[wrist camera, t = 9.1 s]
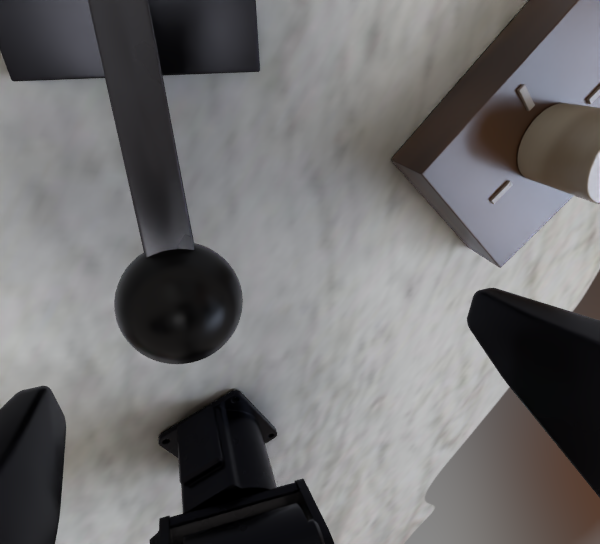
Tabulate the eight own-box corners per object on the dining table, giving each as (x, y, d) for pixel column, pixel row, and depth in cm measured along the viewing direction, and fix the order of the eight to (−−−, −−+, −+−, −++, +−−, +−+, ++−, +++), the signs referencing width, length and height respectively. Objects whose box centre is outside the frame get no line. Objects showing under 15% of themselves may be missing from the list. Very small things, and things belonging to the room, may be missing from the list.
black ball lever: (241, 324, 11) (260, 368, 9) (137, 347, 11) (122, 402, 8) (142, -277, 8) (120, -530, 5) (-22, -308, 7) (-152, -626, 4)
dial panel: (468, 247, 26) (502, 269, 24) (390, 159, 21) (422, 175, 18) (604, 109, 24) (657, 116, 22) (556, -32, 19) (620, -44, 16)
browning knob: (587, 137, 21) (675, 155, 17) (532, 193, 22) (605, 221, 18) (565, 84, 19) (661, 93, 15) (505, 149, 19) (583, 172, 16)
